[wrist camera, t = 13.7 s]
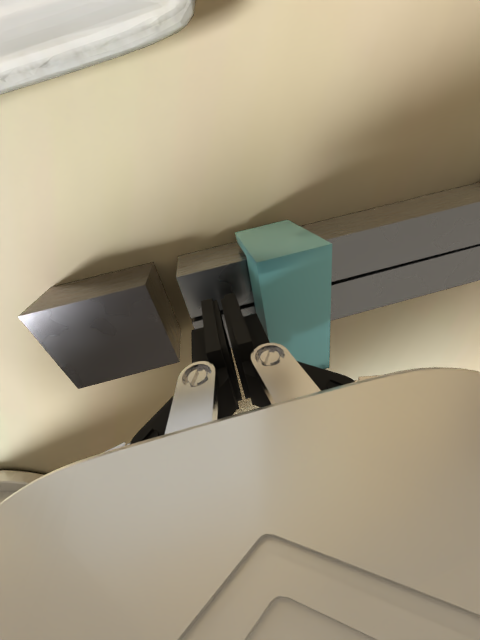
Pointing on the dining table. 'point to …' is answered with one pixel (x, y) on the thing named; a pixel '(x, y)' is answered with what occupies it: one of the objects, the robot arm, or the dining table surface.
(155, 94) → the dining table surface
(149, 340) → the tongs frame
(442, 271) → the bar
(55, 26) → the square plate
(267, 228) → the teal rectangular block
